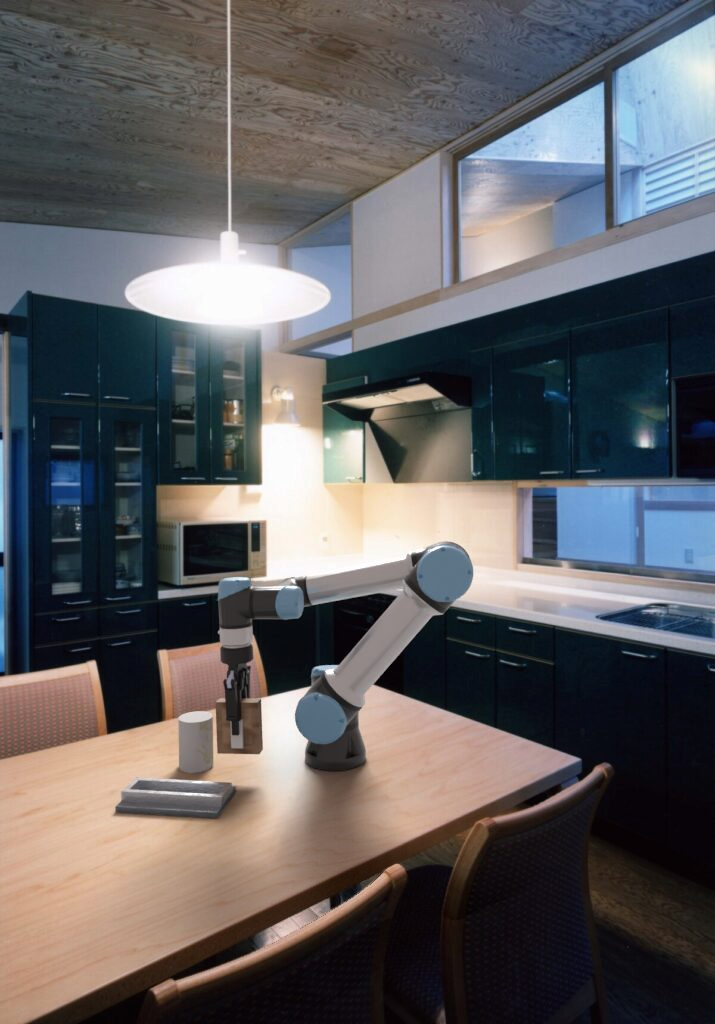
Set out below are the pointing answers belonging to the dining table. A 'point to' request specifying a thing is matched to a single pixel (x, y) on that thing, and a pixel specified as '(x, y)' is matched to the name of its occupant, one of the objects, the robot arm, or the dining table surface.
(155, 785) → the track
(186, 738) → the yellow-veined white cylinder
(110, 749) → the dining table surface
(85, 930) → the dining table surface
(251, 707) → the door panel
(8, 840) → the dining table surface
